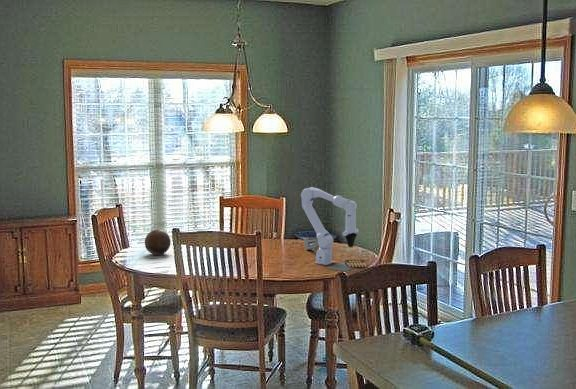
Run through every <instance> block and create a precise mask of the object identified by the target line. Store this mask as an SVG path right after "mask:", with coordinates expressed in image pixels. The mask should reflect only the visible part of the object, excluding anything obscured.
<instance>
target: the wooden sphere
mask: <svg viewBox="0 0 576 389" xmlns="http://www.w3.org/2000/svg"><path fill="white" fill-rule="evenodd" d="M144 245H145V247H144V248H145V249H146V250H147V252H148V253H149V254H152V255H155V256H161V255H163V254H165V253H166V252H168V251H169V249H170V247H171V238H170V236H169V234H168V233H167V232H166V231H164V230H162V229H154V230H151V231H149V233H148V234H147V235H146V236H145V238H144Z"/></svg>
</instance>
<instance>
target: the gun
mask: <svg viewBox="0 0 576 389" xmlns="http://www.w3.org/2000/svg"><path fill="white" fill-rule="evenodd" d="M303 241H304V243H303V244H304V245H303V246H304V250H305V251H311V250H312V251H313V252H314V253H315V254H316V252H317V250H318V249H319V244H318V239H317V238H313V239H304V240H303Z"/></svg>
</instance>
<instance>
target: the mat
mask: <svg viewBox="0 0 576 389" xmlns="http://www.w3.org/2000/svg"><path fill="white" fill-rule="evenodd" d="M357 268H359V267H358V266H357V267H355V266H354V267H352V266H351V267H349V266H348V265H346V264H345V262H340V263H338V264H334V265H331V266H330V265H329V266H328V267H326V269H328V270H333V271H334V270H335V271H340V272H348V271H350V270H354V269H357Z"/></svg>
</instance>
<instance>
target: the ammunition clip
mask: <svg viewBox="0 0 576 389" xmlns="http://www.w3.org/2000/svg"><path fill="white" fill-rule="evenodd" d="M344 263H345V264H346V265H348V266H349V267H351V266H352V267H354V266H355V267H356V268H367V266H368V265H367V263H366V261H365V260H364V259H345V260H344ZM357 266H358V267H357Z"/></svg>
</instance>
